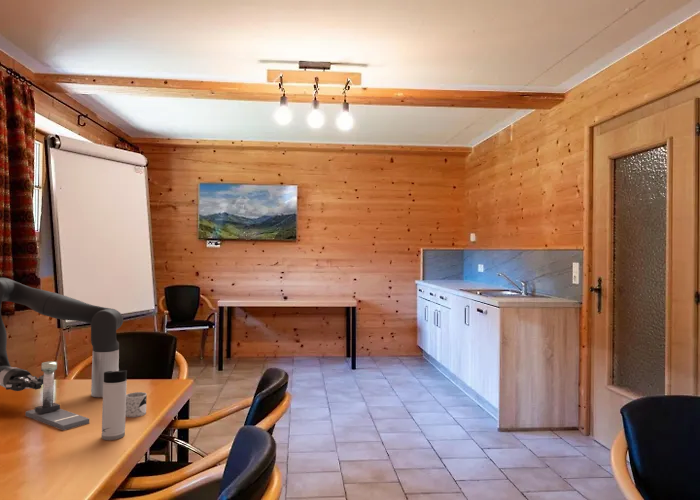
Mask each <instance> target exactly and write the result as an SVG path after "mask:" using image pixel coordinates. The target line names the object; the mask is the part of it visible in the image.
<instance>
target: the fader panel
mask: <svg viewBox="0 0 700 500" xmlns="http://www.w3.org/2000/svg"><path fill="white" fill-rule="evenodd" d="M24 416H25V417H27V418H30V419H33V420H36V421H37V422H41V423H43V424H46V425H48V426H50V427H53V428H55V429H58V430H61V431H67V430H70V429H74V428H77V427H81V426H85V425H88V424H90V418H89V417H86V416H83V415H80V414H78V413H75V412H72V411H68V410H66V409H62V408H60V409H59V410H55V411H51V412H47V413H43V414H39V413H36V412H35V408H34V409H29V410H26V411H25V415H24Z"/></svg>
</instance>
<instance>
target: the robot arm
mask: <svg viewBox="0 0 700 500" xmlns="http://www.w3.org/2000/svg"><path fill="white" fill-rule="evenodd" d="M3 302H9V303H15V304H19V305H23V306H26V307H27V308H29V309H30V310H33V311H34V312H36V313H38V314H40V315H42V316H46V317H49V318H53V319H58V320H63V321H73V322H75V321H76V322H83V323H87V324H90V343H91V346H92V359H91V361H92V362H91V363H92V364H91V390H90V393H91V394H90V395H91V397H94V398H103V384H104V383H103V382H104V372H108V371H112V372H114V371H119V370H120V368H119V363H120V361H119V359H120V342H119V341H118V340H117V330H118V329H120V328H121V327H122V326H123V324H124V317H123V315H122V313H121V312H120V311H119V310H117V309H115V308H109V307H106V306H105V307H104V306H99V305H94V304H90V303H88V302H84V301H82V300H79V299H76V298H73V297H69V296H67V295H64V294H60V293H57V292H55V291H54V292H53V291H48V290H44V289H40V288H35V287H31V286H29V285H25V284H22V283H20V282H18V281H15V280H13V279H12V278H7V277H0V386H1V387H3V388H5V391H6V390H11V391H14V392H20V391H24V390H26V389H27V390H29V389H30V390H31V389H33V390H40V389H41V388H42V385H43V378H44V374H43V375H40V376H38V377H37V375H32V373H31V372H30V371H28V370H27V369H23V368H19V367H16V366H14V367H13V366H11V363H10V361H9V357H8V352H7V345H8V344H7V339H8V337H7V334H8V333H7V330H6V326H5V324H4V320H3V317H2V312H1V311H2V303H3Z"/></svg>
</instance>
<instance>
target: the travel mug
mask: <svg viewBox="0 0 700 500" xmlns="http://www.w3.org/2000/svg"><path fill="white" fill-rule="evenodd" d="M127 373H128V370H127V369H125V370H124V369H123V370H122V369H119V371H114V372H112V371H108V372H104V382H103V383H104V384H103V397H102V408H101V409H102V410H101V411H102V413H101V414H102V415H101V416H102V417H101V418H102V419H101V439H102V440H103V441H115V440H119V439H121V438H124V436H125V435H126V395H127V386H128V385H127V384H128V382H127V381H128V380H127V376H128V375H127Z"/></svg>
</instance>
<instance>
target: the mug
mask: <svg viewBox="0 0 700 500" xmlns="http://www.w3.org/2000/svg"><path fill="white" fill-rule="evenodd" d="M147 395H148V394H147V392H143V391H137V392H129V393H126V416H125V418H139V417H142V416H143V417H144V416H145V415H146V414H147Z"/></svg>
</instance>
